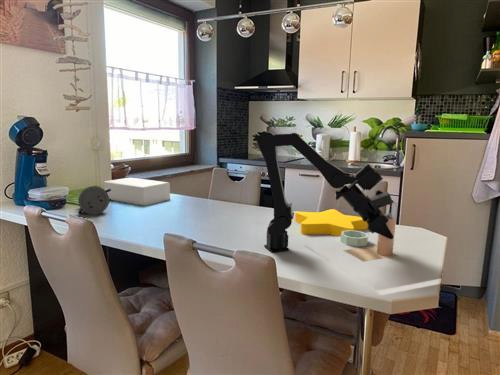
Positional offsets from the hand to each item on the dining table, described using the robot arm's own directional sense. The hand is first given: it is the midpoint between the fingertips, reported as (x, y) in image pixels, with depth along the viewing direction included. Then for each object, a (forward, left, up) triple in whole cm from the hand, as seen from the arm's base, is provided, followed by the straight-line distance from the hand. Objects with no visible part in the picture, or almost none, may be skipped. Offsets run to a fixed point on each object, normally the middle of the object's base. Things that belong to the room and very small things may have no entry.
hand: (390, 235), depth 115 cm
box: (-69, +115, -8) cm, 134 cm away
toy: (-89, +91, -7) cm, 128 cm away
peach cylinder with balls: (-1, +1, -6) cm, 6 cm away
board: (-5, +3, -7) cm, 9 cm away
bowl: (-3, +14, -7) cm, 16 cm away
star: (+1, +34, -8) cm, 35 cm away
